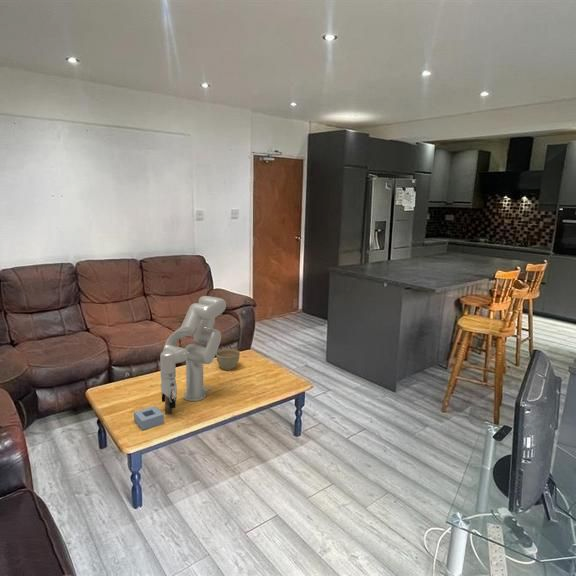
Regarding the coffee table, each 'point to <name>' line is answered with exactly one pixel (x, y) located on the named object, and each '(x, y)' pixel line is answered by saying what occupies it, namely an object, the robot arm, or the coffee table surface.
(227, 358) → the planter bowl
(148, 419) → the socket block
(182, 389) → the coffee table surface
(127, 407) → the coffee table surface
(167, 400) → the peg
